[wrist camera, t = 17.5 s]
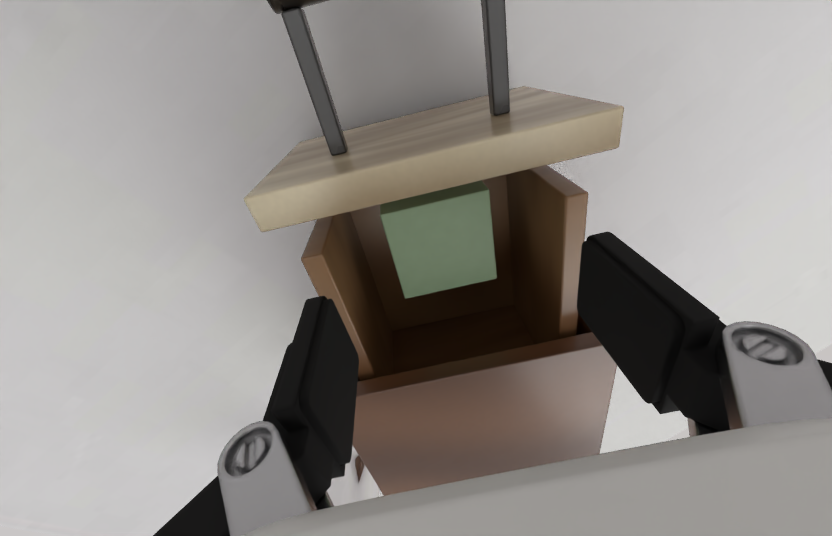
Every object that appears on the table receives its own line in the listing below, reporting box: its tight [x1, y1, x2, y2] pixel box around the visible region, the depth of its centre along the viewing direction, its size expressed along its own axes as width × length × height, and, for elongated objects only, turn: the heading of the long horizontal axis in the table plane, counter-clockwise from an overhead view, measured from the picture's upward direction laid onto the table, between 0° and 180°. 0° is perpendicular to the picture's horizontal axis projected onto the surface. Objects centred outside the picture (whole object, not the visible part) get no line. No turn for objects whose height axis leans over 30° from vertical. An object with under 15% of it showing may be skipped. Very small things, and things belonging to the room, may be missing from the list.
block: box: [380, 180, 497, 299], centre depth 16 cm, size 4×4×4 cm
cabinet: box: [352, 313, 617, 496], centre depth 22 cm, size 15×13×10 cm
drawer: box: [244, 0, 624, 381], centre depth 15 cm, size 19×11×8 cm, turn 12°
